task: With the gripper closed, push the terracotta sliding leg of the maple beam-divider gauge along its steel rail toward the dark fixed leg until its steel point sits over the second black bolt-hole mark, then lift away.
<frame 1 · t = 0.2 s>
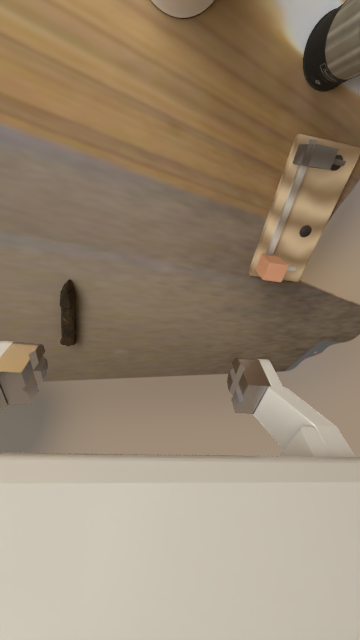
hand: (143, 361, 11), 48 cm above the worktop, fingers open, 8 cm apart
sliding leg: (279, 268, 55), point 5 cm above the worktop, slide at 8.0 cm
hand tool: (68, 309, 64), on the worktop
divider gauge: (295, 218, 54), on the worktop
milk frother: (354, 27, 38), on the worktop
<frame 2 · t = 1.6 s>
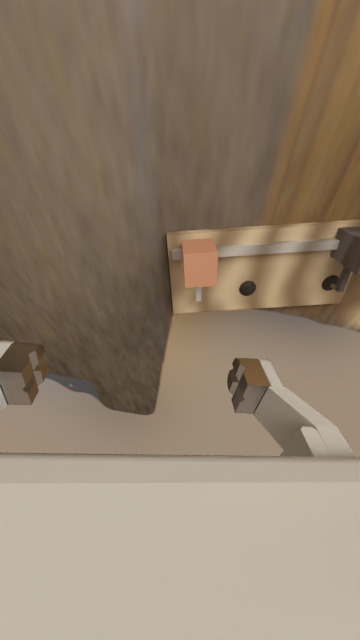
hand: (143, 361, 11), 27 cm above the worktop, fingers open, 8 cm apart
sliding leg: (198, 277, 33), point 5 cm above the worktop, slide at 8.0 cm
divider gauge: (259, 268, 38), on the worktop
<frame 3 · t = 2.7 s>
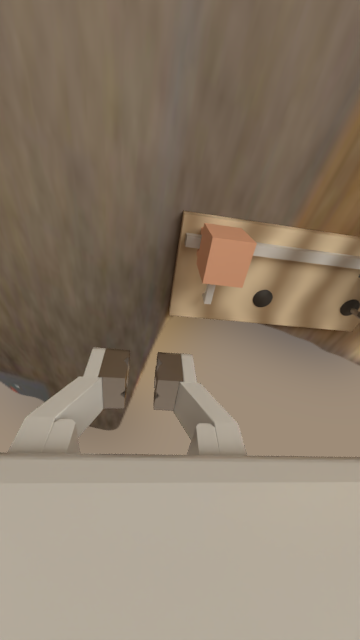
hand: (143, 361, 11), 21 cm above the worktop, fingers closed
sliding leg: (216, 273, 26), point 5 cm above the worktop, slide at 8.0 cm
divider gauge: (279, 278, 32), on the worktop
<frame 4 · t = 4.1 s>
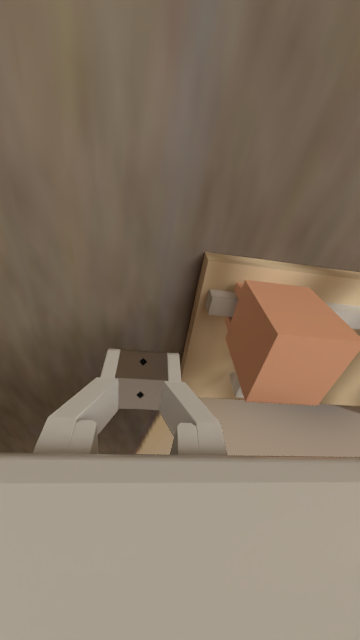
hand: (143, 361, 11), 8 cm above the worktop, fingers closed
sliding leg: (262, 362, 15), point 5 cm above the worktop, slide at 8.0 cm
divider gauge: (344, 343, 21), on the worktop
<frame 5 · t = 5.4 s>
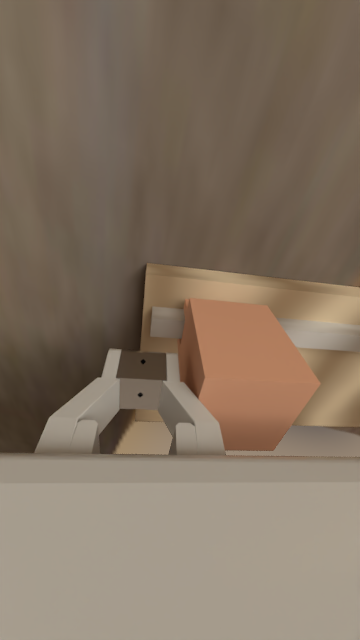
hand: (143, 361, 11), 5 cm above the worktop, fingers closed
sliding leg: (215, 393, 13), point 5 cm above the worktop, slide at 7.8 cm, touching gripper
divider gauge: (318, 360, 19), on the worktop
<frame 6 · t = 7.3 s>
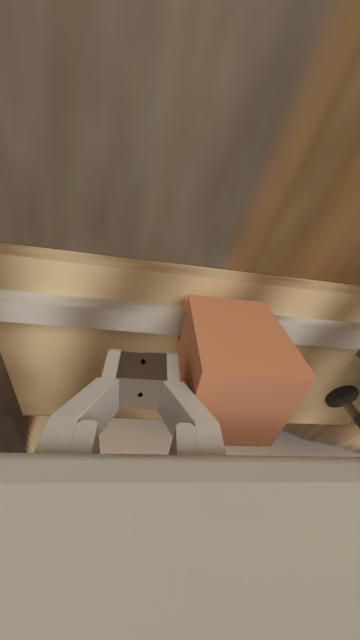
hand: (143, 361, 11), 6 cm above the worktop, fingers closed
sliding leg: (214, 389, 13), point 5 cm above the worktop, slide at -0.6 cm, touching gripper
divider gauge: (214, 351, 18), on the worktop
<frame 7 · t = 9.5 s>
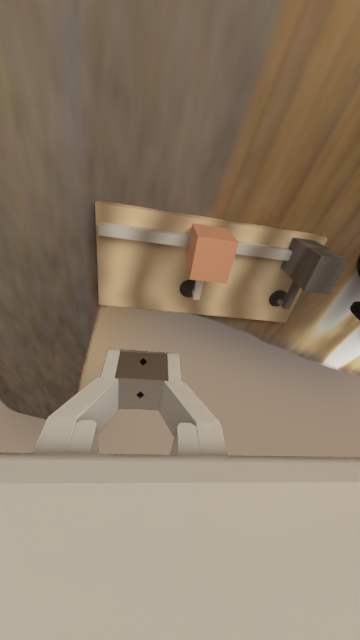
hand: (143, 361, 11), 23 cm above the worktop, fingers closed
sliding leg: (203, 270, 28), point 5 cm above the worktop, slide at -0.6 cm
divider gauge: (205, 268, 33), on the worktop
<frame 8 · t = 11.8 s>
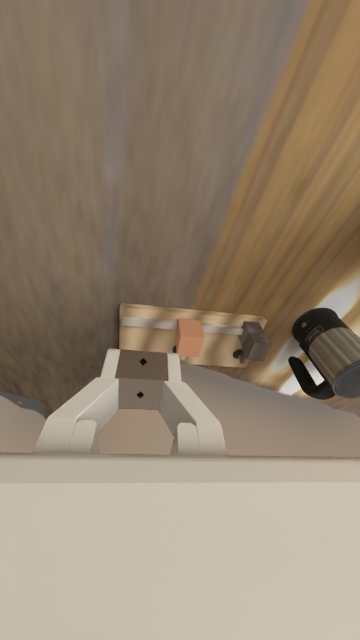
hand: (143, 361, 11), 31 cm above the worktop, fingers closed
sliding leg: (186, 345, 45), point 5 cm above the worktop, slide at -0.6 cm
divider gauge: (189, 336, 50), on the worktop
milk frother: (321, 335, 53), on the worktop
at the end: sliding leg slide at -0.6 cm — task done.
